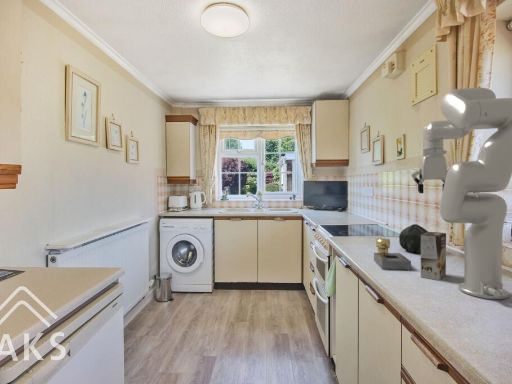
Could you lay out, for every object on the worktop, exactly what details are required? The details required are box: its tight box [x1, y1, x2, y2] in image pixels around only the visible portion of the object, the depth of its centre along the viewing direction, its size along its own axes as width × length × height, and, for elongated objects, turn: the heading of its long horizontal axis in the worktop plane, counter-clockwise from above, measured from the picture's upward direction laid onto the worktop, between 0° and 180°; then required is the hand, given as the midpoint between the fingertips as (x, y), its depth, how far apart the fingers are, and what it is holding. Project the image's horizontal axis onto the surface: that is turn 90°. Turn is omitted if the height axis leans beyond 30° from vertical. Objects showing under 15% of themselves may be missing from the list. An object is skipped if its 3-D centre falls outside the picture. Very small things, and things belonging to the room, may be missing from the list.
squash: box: [398, 223, 429, 254], centre depth 150 cm, size 14×15×15 cm
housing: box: [373, 252, 412, 271], centre depth 128 cm, size 14×11×4 cm
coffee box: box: [420, 231, 447, 281], centre depth 112 cm, size 9×6×16 cm
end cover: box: [375, 237, 391, 253], centre depth 140 cm, size 6×6×8 cm
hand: (433, 193), depth 130 cm, fingers open, 9 cm apart
